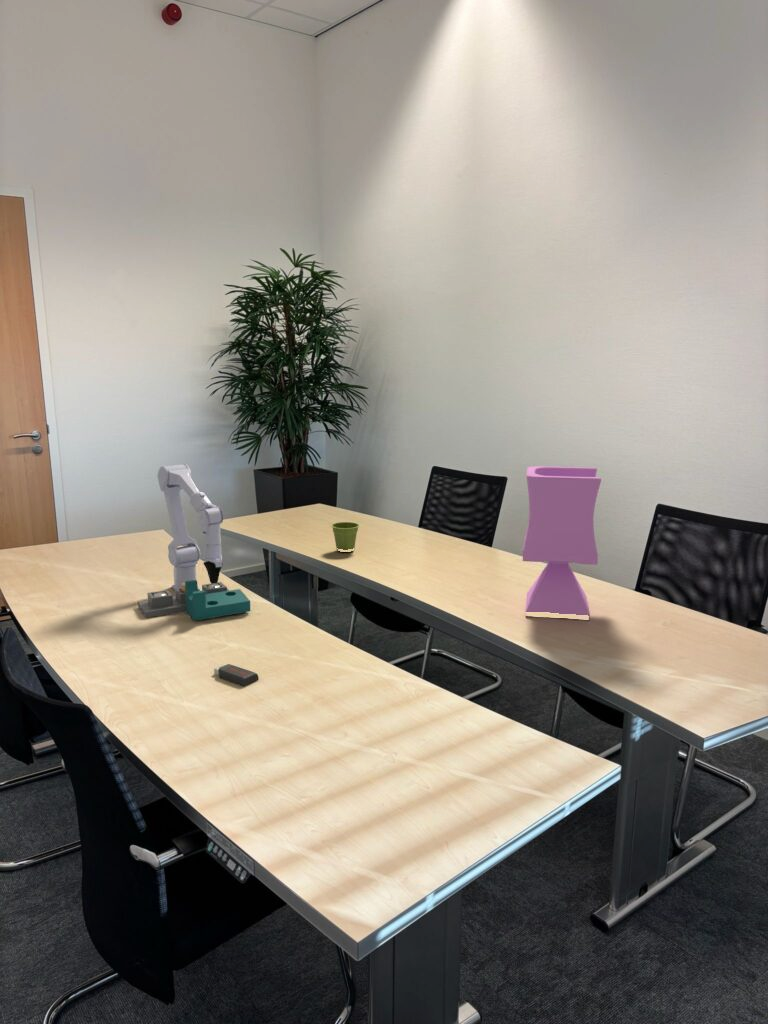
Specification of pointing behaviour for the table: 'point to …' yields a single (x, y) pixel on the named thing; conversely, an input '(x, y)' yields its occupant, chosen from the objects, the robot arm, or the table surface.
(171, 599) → the control panel
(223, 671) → the usb drive
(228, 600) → the teal l-shaped bracket
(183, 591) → the middle knob
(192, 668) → the table surface
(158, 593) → the knob
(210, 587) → the knob
